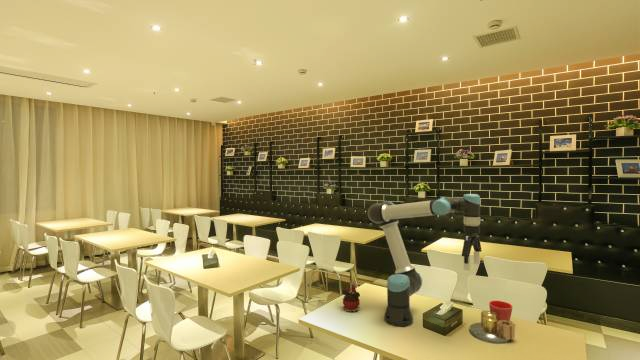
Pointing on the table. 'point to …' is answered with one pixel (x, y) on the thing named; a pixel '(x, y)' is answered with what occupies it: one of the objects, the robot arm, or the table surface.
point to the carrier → (487, 328)
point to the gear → (505, 329)
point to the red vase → (351, 298)
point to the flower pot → (501, 309)
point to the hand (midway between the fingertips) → (471, 266)
